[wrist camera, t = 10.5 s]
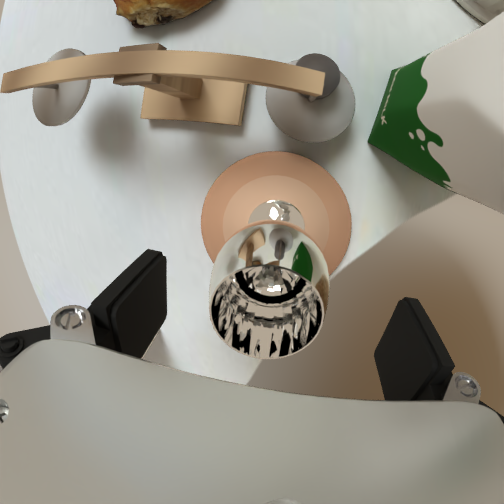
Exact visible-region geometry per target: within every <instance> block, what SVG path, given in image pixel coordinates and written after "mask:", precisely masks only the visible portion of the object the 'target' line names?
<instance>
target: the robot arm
mask: <svg viewBox="0 0 504 504" xmlns="http://www.w3.org/2000/svg"><path fill="white" fill-rule="evenodd" d="M456 1H457V2H458V3H459V4H460V5H461V6H462V7H463V8H465V9H466V10H467V11H468V12H469V13H470V14H472V15H473V16H474V17H476V18H477V19H479V20H480V21H481V22H483V23H485V24H486V23H488V22H489V21H491V20H492V19H494V18H495V17H496V16H498V15H499V14H501V13H502V12H504V0H456ZM166 263H167V261H166V257H165V256H163V254H162V252H160V251H155V250H150V249H147V250H146V251H145V252H144V253H143V254H142V255H141V256H139V257H138V258H137V259H136V260H135V261H134V262H133V263H132V264H131V265H130V266H129V267H128V268H127V269H125V270H124V271H123V272H122V273H121V274H120V275H119V276H118V277H117V278H116V279H115V280H114V281H113V282H112V283H111V284H110V285H109V286H108V287H107V288H106V289H105V290H104V291H103V292H102V293H101V294H100V295H99V296H98V297H97V298H96V299H95V300H94V301H93V302H92V303H91V305H90V307H89V308H88V309H86V308H84V307H82V306H77V305H69V306H65V307H62V308H60V309H58V310H57V311H56V312H55V313H54V314H53V315H52V317H51V321H50V325H49V326H44V327H39V328H34V329H29V330H24V331H18V332H13V333H9V334H6V335H4V336H3V337H1V338H0V504H504V417H503V416H502V415H500V414H499V413H498V412H496V411H495V410H493V409H492V408H490V407H489V406H487V405H486V404H484V403H483V402H481V401H480V400H479V399H480V394H481V390H480V386H479V384H478V382H477V381H476V380H475V379H474V378H473V377H471V376H470V375H469V374H466V373H463V372H457V373H455V374H454V375H453V374H452V372H451V371H452V370H453V369H454V367H455V365H454V363H453V361H452V359H451V357H450V355H449V353H448V351H447V349H446V347H445V346H444V344H443V342H442V340H441V338H440V336H439V334H438V333H437V331H436V329H435V327H434V325H433V324H432V322H431V320H430V319H429V317H428V315H427V314H426V312H425V310H424V308H423V307H422V305H421V303H420V302H419V300H418V299H414V298H408V297H405V298H404V299H402V300H400V301H399V302H398V304H397V306H396V308H395V310H394V312H393V315H392V317H391V319H390V321H389V323H388V325H387V327H386V330H385V332H384V334H383V336H382V338H381V340H380V342H379V344H378V346H377V348H376V350H375V353H374V357H375V362H376V366H377V369H378V373H379V377H380V381H381V385H382V390H383V394H384V398H385V400H362V399H347V398H335V397H324V396H314V395H306V394H297V393H290V392H283V391H276V390H270V389H264V388H258V387H252V386H247V385H242V384H237V383H232V382H227V381H223V380H218V379H214V378H209V377H205V376H201V375H197V374H193V373H189V372H185V371H181V370H177V369H174V368H170V367H167V366H163V365H160V364H156V363H153V362H150V361H146V360H143V359H142V357H143V355H144V354H145V352H146V350H147V349H148V347H149V345H150V344H151V342H152V341H153V339H154V337H155V336H156V334H157V332H158V331H159V329H160V328H161V326H162V324H163V323H164V321H165V319H166V316H167V284H166Z"/></svg>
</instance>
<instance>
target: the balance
mask: <svg viewBox="0 0 504 504" xmlns="http://www.w3.org/2000/svg"><path fill="white" fill-rule="evenodd" d="M166 49H167V48H165V47H164V46H162V45H161V44H159V43H155V44H144V45H134V46H126V47H120V49H119V52H111V53H101V54H92V55H85V54H84V53H83V52H81V51H79V50H76V49H64V50H61V51H59V52H57V53H56V54H54V55H53V56H52V57H51V58H50V59H49V60H48V61H47V62H45V63H41V64H37V65H33V66H29V67H25V68H21V69H18V70H14V71H11V72H7V73H4V74H3V79H2V85H1V91H0V93H11V92H15V91H20V90H24V89H29V88H34V90H33V109H34V113H35V115H36V117H37V119H38V120H39V121H40V122H41V123H42V124H44V125H46V126H58V125H62V124H64V123H66V122H68V121H69V120H70V119H72V118H73V117H74V116H75V115H76V113H77V112H78V111H79V110H80V108H81V106H82V105H83V103H84V101H85V99H86V97H87V94H88V91H89V88H90V83H91V79H98V78H113V77H114V80H113V84H118V85H122V86H128V85H140V86H143V87H145V90H144V96H143V103H142V110H141V118H142V119H162V120H183V121H197V122H209V123H220V124H229V125H238V126H241V123H242V117H243V110H244V104H245V98H246V91H247V85H248V84H254V85H260V86H266V87H267V90H266V105H267V109H268V112H269V115H270V117H271V119H272V120H273V122H274V123H275V125H276V126H277V127H278V128H279V129H280V130H281V131H282V132H284V133H285V134H286V135H288V136H290V137H292V138H294V139H296V140H299V141H303V142H312V143H317V142H323V141H328V140H330V139H333V138H335V137H336V136H338V135H339V134H341V133H342V132H343V131H344V130H345V129H346V128H347V127H348V125H349V124H350V122H351V120H352V118H353V115H354V111H355V96H354V92H353V89H352V87H351V85H350V83H349V81H348V80H347V78H346V77H345V76H344V75H343V74H342V73H341V72H340V71H339V68H338V66H337V65H336V63H335V62H334V61H333V60H332V59H330V58H329V57H327V56H325V55H322V54H308V55H305V56H303V57H302V58H301V59H299V60H296V61H292V62H290V63H288V64H287V63H282V62H277V61H271V60H266V59H260V58H254V57H247V56H240V55H231V54H222V53H212V52H198V51H175V50H166Z"/></svg>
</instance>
